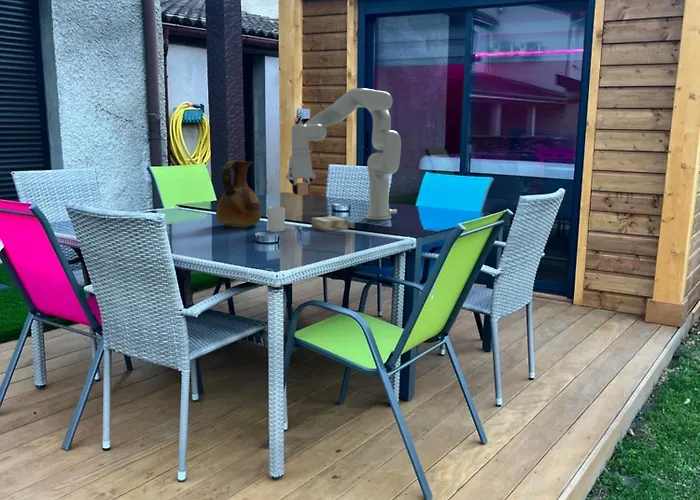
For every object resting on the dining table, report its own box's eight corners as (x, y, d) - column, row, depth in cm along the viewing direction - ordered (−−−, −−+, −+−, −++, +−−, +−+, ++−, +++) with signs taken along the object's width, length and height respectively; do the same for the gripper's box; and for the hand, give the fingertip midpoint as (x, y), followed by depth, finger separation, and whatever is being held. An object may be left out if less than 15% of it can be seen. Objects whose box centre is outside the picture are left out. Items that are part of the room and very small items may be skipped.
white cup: (282, 232, 289) (282, 209, 287) (264, 231, 291) (264, 208, 289) (287, 229, 297) (287, 207, 295) (270, 228, 298) (270, 206, 296)
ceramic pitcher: (269, 225, 308) (268, 159, 302) (244, 232, 290) (242, 162, 284) (233, 222, 316) (231, 157, 310) (207, 228, 298) (204, 160, 292)
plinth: (335, 224, 310) (335, 216, 309) (347, 228, 299) (347, 219, 298) (311, 226, 304) (311, 218, 303) (323, 230, 294) (323, 221, 293)
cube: (303, 193, 307) (303, 182, 306) (308, 194, 303) (308, 183, 302) (293, 193, 305) (293, 182, 304) (298, 195, 301) (298, 183, 300)
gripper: (313, 151, 307) (314, 191, 311) (279, 152, 299) (280, 193, 303) (321, 152, 301) (321, 193, 305) (286, 153, 293) (287, 195, 297)
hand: (301, 192), depth 304 cm, fingers closed on cube, 4 cm apart
